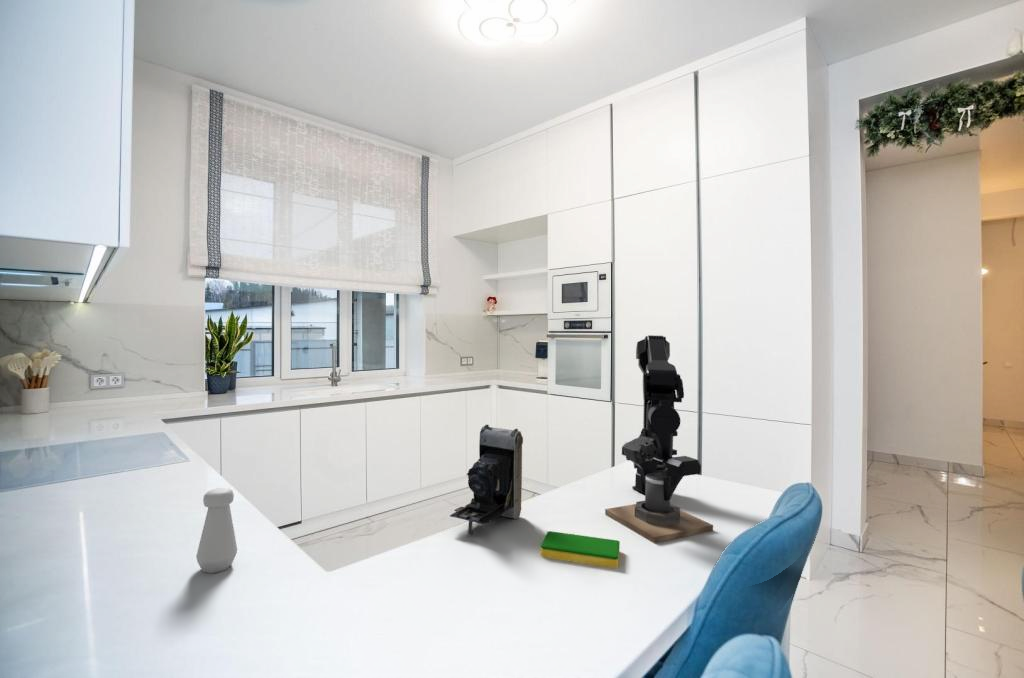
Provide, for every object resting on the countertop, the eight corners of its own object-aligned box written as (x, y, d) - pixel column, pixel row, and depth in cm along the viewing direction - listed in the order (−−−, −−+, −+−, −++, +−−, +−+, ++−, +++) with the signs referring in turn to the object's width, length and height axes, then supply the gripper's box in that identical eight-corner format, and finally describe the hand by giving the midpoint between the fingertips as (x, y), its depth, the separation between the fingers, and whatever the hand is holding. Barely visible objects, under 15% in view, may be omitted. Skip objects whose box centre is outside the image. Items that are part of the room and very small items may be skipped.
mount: (659, 505, 113) (659, 491, 113) (712, 530, 99) (713, 515, 99) (605, 514, 107) (605, 500, 107) (654, 543, 92) (655, 527, 92)
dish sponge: (547, 542, 92) (547, 530, 92) (619, 552, 89) (619, 540, 89) (540, 558, 85) (540, 545, 85) (617, 570, 82) (618, 556, 82)
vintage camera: (446, 533, 95) (448, 437, 94) (485, 507, 109) (487, 422, 108) (487, 545, 91) (489, 444, 90) (522, 516, 104) (525, 428, 103)
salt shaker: (193, 579, 75) (195, 498, 74) (198, 563, 80) (199, 487, 80) (235, 571, 77) (237, 493, 77) (238, 556, 82) (239, 483, 82)
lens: (657, 502, 106) (658, 471, 106) (675, 510, 102) (676, 478, 101) (639, 505, 104) (640, 473, 104) (656, 513, 99) (657, 481, 99)
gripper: (603, 420, 108) (602, 487, 108) (662, 437, 91) (659, 517, 91) (641, 417, 112) (640, 482, 113) (704, 433, 96) (701, 509, 96)
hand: (657, 496), depth 103 cm, fingers closed on lens, 5 cm apart
